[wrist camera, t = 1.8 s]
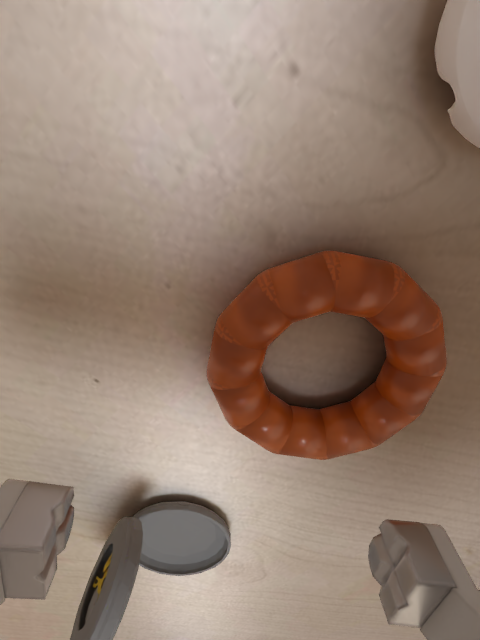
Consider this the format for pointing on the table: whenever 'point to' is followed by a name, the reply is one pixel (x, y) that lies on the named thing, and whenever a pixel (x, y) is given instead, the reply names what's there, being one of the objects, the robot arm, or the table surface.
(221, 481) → the table surface
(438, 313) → the orange beaded ring
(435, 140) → the table surface
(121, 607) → the pocket watch
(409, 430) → the table surface
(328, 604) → the table surface
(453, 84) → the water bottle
